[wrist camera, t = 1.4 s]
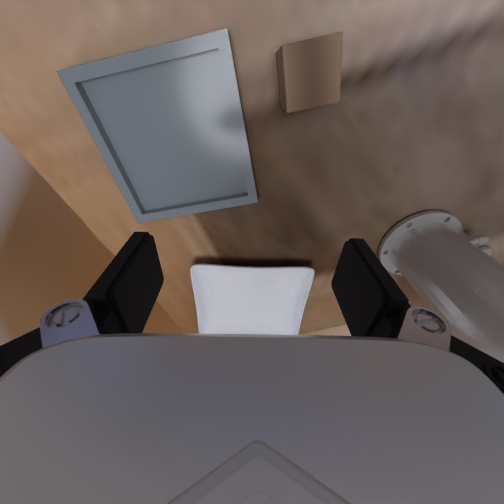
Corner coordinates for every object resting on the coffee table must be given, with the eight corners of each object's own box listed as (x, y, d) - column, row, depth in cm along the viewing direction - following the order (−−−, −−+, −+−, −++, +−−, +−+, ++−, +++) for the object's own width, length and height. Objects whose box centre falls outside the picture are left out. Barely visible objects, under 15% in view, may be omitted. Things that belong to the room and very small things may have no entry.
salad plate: (192, 253, 40) (187, 266, 37) (312, 257, 41) (317, 269, 38) (202, 327, 53) (199, 341, 50) (294, 329, 53) (296, 342, 51)
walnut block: (323, 42, 24) (342, 31, 19) (323, 98, 27) (339, 102, 22) (275, 53, 24) (282, 45, 20) (280, 107, 27) (287, 113, 22)
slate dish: (228, 31, 23) (227, 28, 22) (257, 197, 34) (258, 202, 32) (67, 71, 25) (56, 71, 24) (142, 217, 36) (138, 223, 34)
